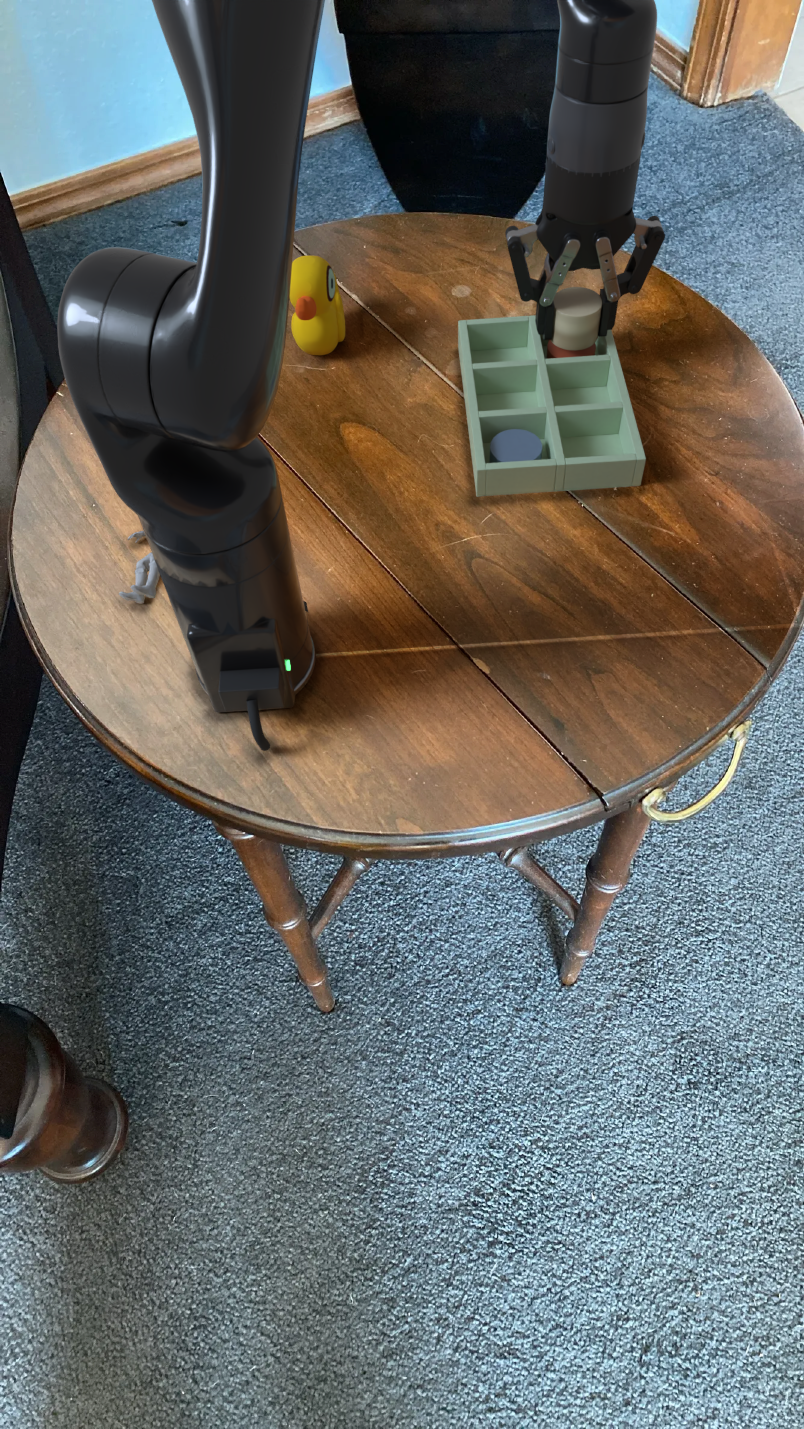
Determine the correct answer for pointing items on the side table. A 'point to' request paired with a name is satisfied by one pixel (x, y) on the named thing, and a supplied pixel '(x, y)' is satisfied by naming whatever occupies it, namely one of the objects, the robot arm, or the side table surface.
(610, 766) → the side table surface
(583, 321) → the cream token
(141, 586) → the soldier figure
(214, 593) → the robot arm
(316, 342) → the duckling
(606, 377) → the green rectangular divided tray
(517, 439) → the slate token
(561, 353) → the terracotta token
